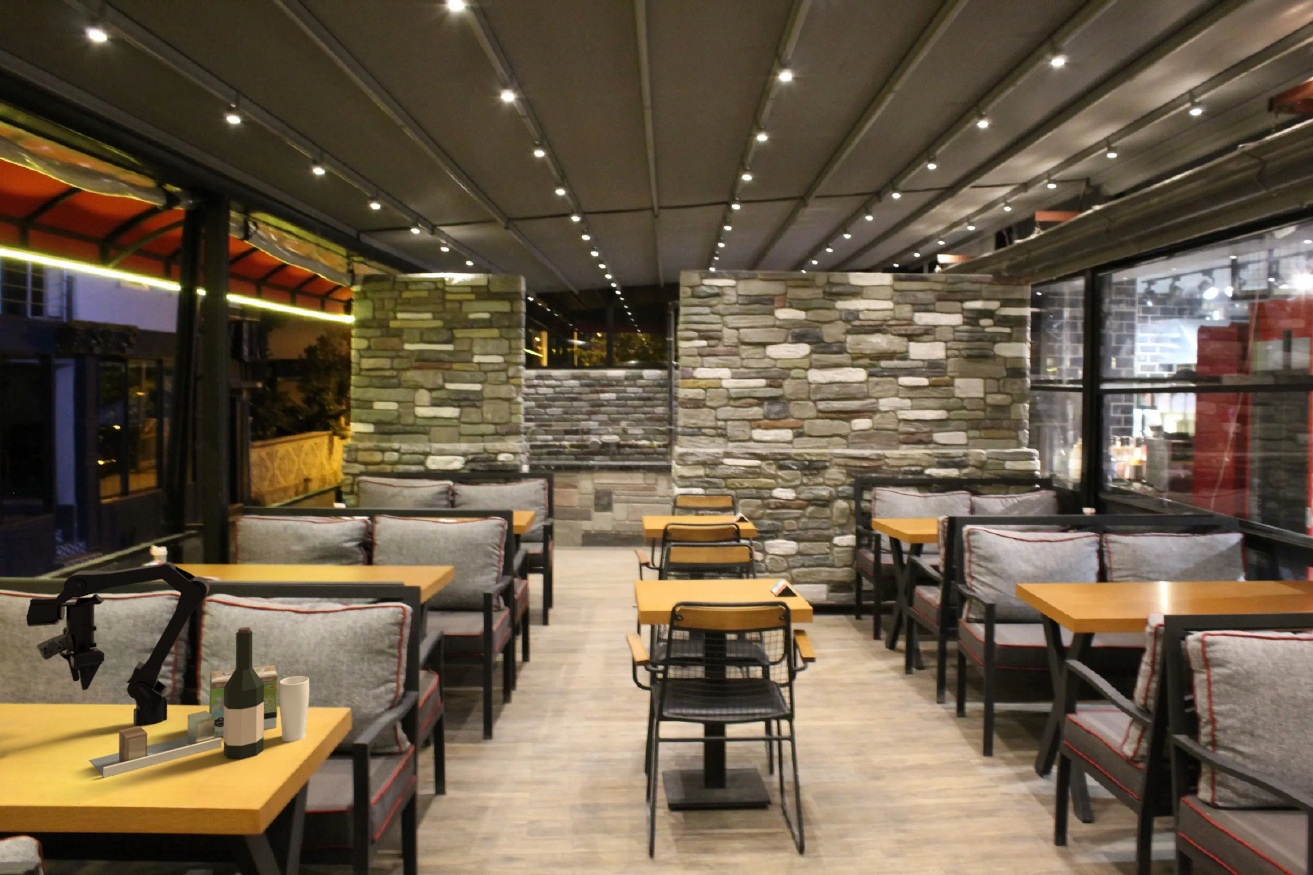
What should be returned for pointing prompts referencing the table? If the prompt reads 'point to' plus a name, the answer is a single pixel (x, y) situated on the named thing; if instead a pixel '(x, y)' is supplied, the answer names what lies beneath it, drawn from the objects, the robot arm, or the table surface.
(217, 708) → the tea box
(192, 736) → the sage tin
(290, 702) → the drinking glass
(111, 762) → the display board
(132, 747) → the block
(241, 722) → the wine bottle
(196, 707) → the table surface
